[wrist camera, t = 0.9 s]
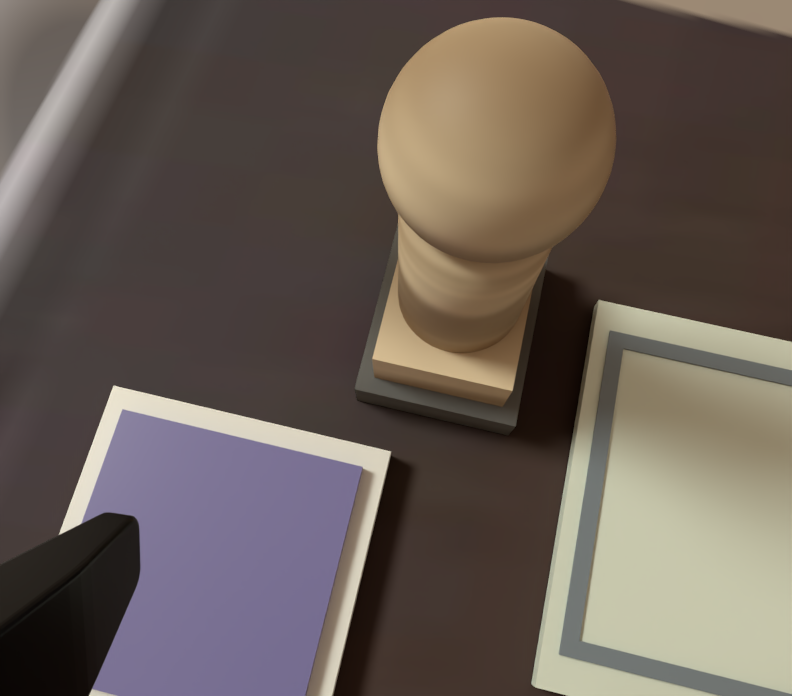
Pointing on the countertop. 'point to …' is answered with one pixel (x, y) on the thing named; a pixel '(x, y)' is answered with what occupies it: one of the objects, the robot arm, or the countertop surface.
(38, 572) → the robot arm
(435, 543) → the countertop surface
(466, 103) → the hand stamp
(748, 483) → the marked board
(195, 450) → the ink pad
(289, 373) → the countertop surface
